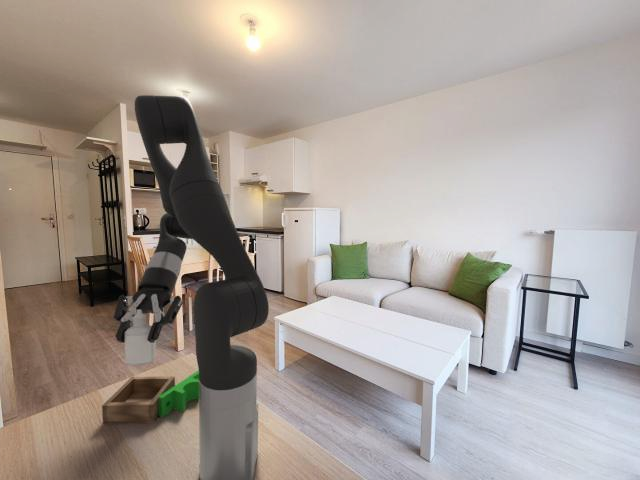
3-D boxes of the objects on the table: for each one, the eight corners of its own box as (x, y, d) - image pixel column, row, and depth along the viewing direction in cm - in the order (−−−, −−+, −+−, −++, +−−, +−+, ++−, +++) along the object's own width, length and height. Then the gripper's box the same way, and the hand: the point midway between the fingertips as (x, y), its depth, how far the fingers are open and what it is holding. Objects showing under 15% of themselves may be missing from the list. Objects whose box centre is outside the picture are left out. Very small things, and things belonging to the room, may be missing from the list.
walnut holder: (174, 391, 68) (174, 376, 67) (153, 422, 58) (153, 404, 57) (132, 392, 67) (131, 376, 66) (102, 423, 57) (102, 405, 57)
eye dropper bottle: (142, 370, 59) (140, 315, 57) (122, 365, 60) (119, 311, 59) (159, 359, 63) (158, 308, 62) (140, 355, 64) (138, 305, 63)
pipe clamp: (171, 422, 58) (170, 401, 58) (158, 416, 60) (157, 396, 59) (210, 390, 69) (209, 373, 68) (198, 387, 70) (198, 369, 70)
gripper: (124, 265, 66) (89, 335, 56) (187, 266, 67) (164, 335, 57) (138, 281, 72) (108, 347, 61) (195, 282, 73) (176, 347, 63)
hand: (135, 341), depth 59 cm, fingers closed on eye dropper bottle, 5 cm apart
